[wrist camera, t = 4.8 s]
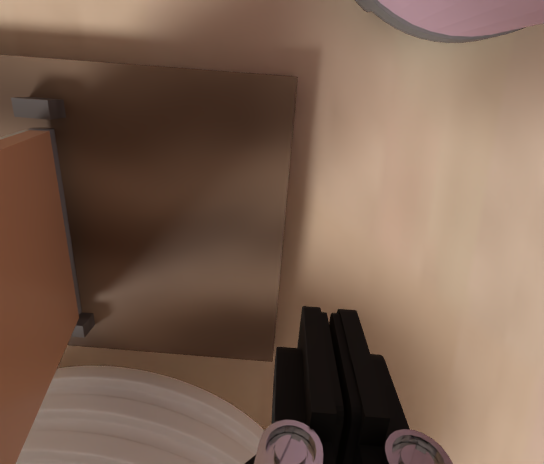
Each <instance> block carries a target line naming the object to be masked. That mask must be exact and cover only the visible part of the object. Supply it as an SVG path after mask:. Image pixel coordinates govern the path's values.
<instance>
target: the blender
mask: <svg viewBox="0 0 544 464" xmlns="http://www.w3.org/2000/svg"><path fill="white" fill-rule="evenodd" d="M355 1H356V2H357V3H358V4H359V5H360V6H361V7H362V8H363V9H364V10H365V11H366V12H370V11H372V12H373V13H375V14H376V15H377V16H378V17H380V18H381V19H382V20H383V21H385V22H386V23H388V24H390V25H391V26H393V27H394V28H396V29H398V30H400V31H402V32H404V33H407V34H409V35H412V36H415V37H418V38H421V39H425V40H430V41H435V42H445V43H464V42H472V41H479V40H483V39H488V38H492V37H496V36H500V35H504V34H508V33H511V32H514V31H517V30H520V29H523V28H525V27H528V26H533V25H537V24H542V23H544V0H355Z"/></svg>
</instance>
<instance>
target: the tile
mask: <svg viewBox="0 0 544 464" xmlns="http://www.w3.org/2000/svg"><path fill="white" fill-rule="evenodd" d="M81 312H82V306H81V300H80V293H79V287H78V280H77V274H76V267H75V261H74V254H73V248H72V241H71V235H70V228H69V222H68V215H67V209H66V202H65V196H64V189H63V183H62V176H61V170H60V163H59V157H58V150H57V144H56V137H55V131H54V128H46V127H36V128H29V130H22V131H19V132H16V133H13V134H10V135H7V136H3V137H0V464H16V462H17V459H18V457H19V455H20V452H21V450H22V448H23V445H24V443H25V441H26V439H27V436H28V434H29V432H30V429H31V427H32V425H33V422H34V420H35V418H36V416H37V413H38V411H39V409H40V406H41V404H42V402H43V400H44V397H45V395H46V393H47V390H48V388H49V386H50V383H51V381H52V379H53V377H54V374H55V372H56V370H57V367H58V365H59V363H60V360H61V358H62V356H63V354H64V351H65V349H66V347H67V344H68V342H69V340H70V338H71V335H72V333H73V331H74V328H75V326H76V324H77V321H78V319H79V314H80V313H81Z"/></svg>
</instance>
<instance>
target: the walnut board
mask: <svg viewBox="0 0 544 464" xmlns="http://www.w3.org/2000/svg"><path fill="white" fill-rule="evenodd" d="M297 78H298V77H294V76H280V75H267V74H254V73H240V72H227V71H213V70H200V69H187V68H173V67H160V66H146V65H133V64H120V63H106V62H93V61H79V60H66V59H53V58H39V57H26V56H12V55H0V137H3V136H7V135H10V134H13V133H16V132H19V131H22V130H29V128H36V127H46V128H54V131H55V137H56V144H57V150H58V157H59V163H60V170H61V176H62V183H63V189H64V196H65V202H66V209H67V215H68V222H69V228H70V235H71V241H72V248H73V254H74V261H75V267H76V274H77V280H78V287H79V293H80V300H81V306H82V312H81V313H80V314H79V319H78V321H77V324H76V326H75V328H74V331H73V333H72V335H71V338H70V340H69V342H68V344H67V345H72V346H84V347H97V348H109V349H121V350H134V351H146V352H159V353H171V354H183V355H196V356H208V357H221V358H233V359H245V360H258V361H270V362H272V361H273V349H274V338H275V327H276V315H277V304H278V293H279V282H280V270H281V259H282V248H283V236H284V225H285V214H286V202H287V191H288V180H289V168H290V157H291V146H292V134H293V123H294V112H295V100H296V89H297Z"/></svg>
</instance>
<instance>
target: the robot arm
mask: <svg viewBox="0 0 544 464" xmlns="http://www.w3.org/2000/svg"><path fill="white" fill-rule="evenodd" d="M245 464H453V463H452V461H451V460H450V458H449V456H448V455H447V453H446V452H445V451H444V449H443V448H442V447H441V446H440V445H439V444H438V443H437V442H436V441H434V440H433V439H432V438H430V437H428V436H427V435H425V434H423V433H421V432H418V431H415V430H410V429H409V426H408V423H407V421H406V418H405V415H404V412H403V409H402V407H401V404H400V401H399V398H398V396H397V393H396V390H395V387H394V385H393V382H392V379H391V376H390V374H389V371H388V368H387V365H386V362H385V360H384V358H383V356H381V355H374V354H370V352H369V349H368V345H367V342H366V339H365V336H364V333H363V330H362V326H361V323H360V320H359V317H358V314H357V311H356V310H345V309H338V311H337V313H331V316H330V322H328V317H327V313H324V312H321V309H320V308H319V307H307V306H303V307H302V314H301V322H300V331H299V339H298V348H286V347H277V348H276V358H275V370H274V384H273V404H272V424H271V425H269V426H268V427H267V428H266V430H265V431H264V432H263V434H262V436H261V438H260V441H259V445H258V449H257V453H256V455H255V456H253V457H252V458H251V459H250V460H248V461H247V462H246V463H245Z"/></svg>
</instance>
